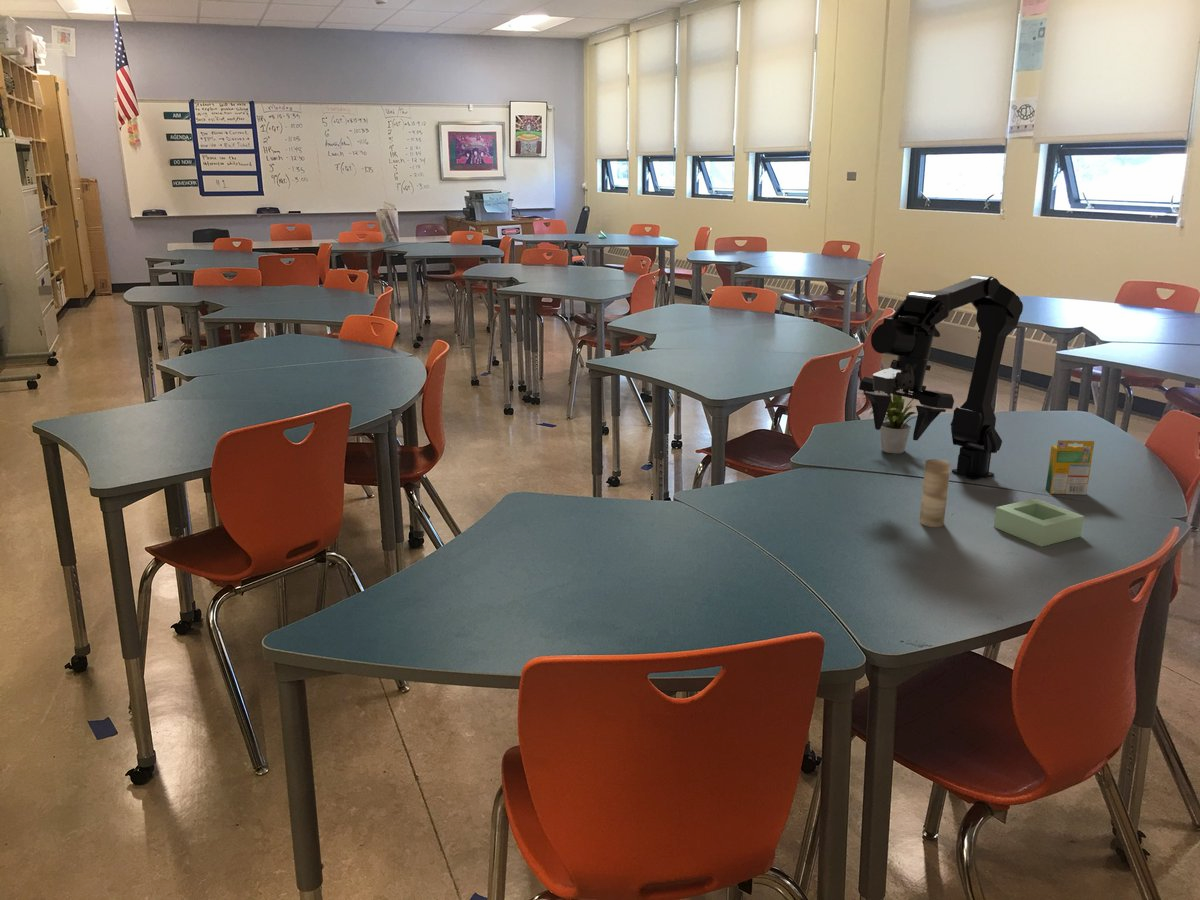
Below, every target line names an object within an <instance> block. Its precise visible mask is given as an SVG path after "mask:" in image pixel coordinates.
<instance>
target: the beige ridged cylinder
mask: <svg viewBox="0 0 1200 900" xmlns="http://www.w3.org/2000/svg"><path fill="white" fill-rule="evenodd" d="M951 467H952V465H951V463H950V461H947V460H944V459H939V458H937V459H936V458H935V459H934V458H933V459H926V461H925V466H924V472H923V473H924V474H923V483H922V493H921V503H920V504H921V505H920V511H919V520H918V521H919V524H921V525H922V526H926V527H929V528H930V527H931V528H940V527H944V525H945V518H946V516H945V515H946V508H947V499H948V490H949V489H948V488H949V482H950V472H951Z"/></svg>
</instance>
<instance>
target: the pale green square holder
mask: <svg viewBox="0 0 1200 900" xmlns="http://www.w3.org/2000/svg"><path fill="white" fill-rule="evenodd" d="M1084 520H1085V515H1082V514H1080V513H1077V512H1074V511H1072V510H1068V509H1066V508H1063V507H1060V506H1058V505H1054V504H1051V503H1049V502H1048V501H1047V502H1046V501H1043V500H1041V499H1038V498H1030V499H1027V500H1022V501H1018V502H1014V503H1013V502H1012V503H1009V504H1004V505H1000V506H996V508H995V516H994V523H993V528H995V529H998V530H1000V531H1003V532H1005V533H1007V534H1009V535H1011V536H1015V537H1017V538H1019V539H1022V540H1023V541H1027V542H1028V543H1030V544H1034V545H1035V546H1038V547H1045V546H1049V545H1052V544H1057V543H1061V542H1065V541H1068V540H1071V539H1077V538H1080V537H1081V536H1082V531H1083V526H1084V525H1083V524H1084Z"/></svg>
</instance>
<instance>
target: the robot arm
mask: <svg viewBox="0 0 1200 900" xmlns="http://www.w3.org/2000/svg"><path fill="white" fill-rule="evenodd" d="M968 304H971V305H972V306H973V307H974V308H975V310H976V316H975V321H976V323H977V324H976V325H977V327H978V329H979V332H980V337H979V340H978V341H979V343H978V346H977V351H976V356H975V361H974V365H973V370H972V374H971V379H970V383H969V388H968V392H967V397H966V400H965V402H963V404H962V405H960V407H957V406H956V407H955V409H954V410H953V407H954V404H955V399H954V396H953V394H951V393H947V392H943V391H939V390H931V389H929V390H928V389H927V385H924V381H925V375H926V371H928V372H929V371H931V368H932V365H930V364H928V363H929V362H928V361H929V358H930V354H931V350H932V344H933V340H934V337H935V338H940V337H941V334H940V332H939V330H938V328H937V327H936V325H938V324H940V323H941V322H942V321H944V320H946V319H947V318H948V317H949V316H950V315H949V314H950V312H952V311H954V310H955V309H956V310H957V309H958V308H961V307H963V306H966V305H968ZM1023 310H1024V305H1023V302H1022V300H1021V298H1020V297H1019V296H1018V295H1017V294H1016V293H1015V292H1014V291H1012V290H1011V289H1010V288H1008V287H1007V286H1005V285H1003V284H1001V283H1000V281H999V279H997V278H996V277H994V276H990V275H981V274H980V275H979V274H976V275H972V276H970V277H969V278H967V279H965V280H962V281H959V282H958V283H957V282H956V283H954V284H951V285H949V286H946V287H944V288H941V289H938V290H917V291H912V292H909V293H908V294H907V295H906V296H905V299H904V300H903V302H902V303H901V304H900V305H899V306H898V308H897V309H896V311H895V312H894V313H893V315H892V316H891V317H884V319H883V323H880V324H879V325H877V326H876V327H875V329H874V330H873V332H872V333H871V335H870V344H871V348H872V349H873V351H875V352H876V353H878V354H883V355H891V356H897V359H892V361H891V363H890V366H889V367H888V368H884V369H882V370H879V371H877V372H874V373H873V374H872V377H871V376H864V377H862V378H861V380H860V381H859V386H858V390H860V391H864V392H862V393H863V396H865V397H867V399H868V400H869V401H870V405H871V407H872V408H871V409H872V411H873V413H872V417H873V423H874V429H875V430H877V431H880V428H881V426H882V424H883V422H885V416H886V415H887V409H888V406H889V404H890V401H891V398H892V399H893V394H895V395H899V396H902V397H903V398H908V399H911V400H912V399H913V400H917V401H918V402H919V404H920V405H915V409H916V413H917V417H916V419H915V420H916V421H915V425H914V429H913V433H912V435H913V436H912V440H913V441H919V439H920V438H921V437H922V436H923V434H924V433H925V431H926V430H927V429H928V428H929V426H930V425H931V424H932V422H933V421H934V420H935V419H936V418H937V417H939V415H940V414H941V413H945V412H946V411H947V409H948V410H953V415H952V416H953V417H952V419H951V423H949V424H950V431H951V440H952V445H953V446H954V445H955V446H959V453H958V455H957V456H958V457H957V463H956V468H953V469H951V473H954V474H955V475H959V476H962V477H965V478H966V479H969V480H972V481H973V480H974V481H976V480H980V479H985V478H986V479H987V478H990V477H994V476H995V472H991V471H990V464H991V459H992V458H991V457H992V454H997V453H998V451H1000V450H1001V447H1002V445H1003V440H1002V438H1001V436H1000V435H999V434H998V432H997V430H996V422H997V417H996V415H995V414H996V413H995V412H994V408H993V406H992V401H993V397H994V393H995V388H996V384H997V379H998V375H999V370H1000V366H1001V362H1002V356H1003V353H1004V348H1005V343H1006V338H1007V337H1008V336H1009V335H1010V333H1012V332H1013V330H1015V328H1017V326H1018V324H1019V321H1020V317H1021V314H1022V313H1023ZM901 389H902V391H901ZM899 390H900V391H899ZM887 394H891V396H888V395H887Z"/></svg>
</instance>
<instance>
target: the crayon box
mask: <svg viewBox="0 0 1200 900" xmlns="http://www.w3.org/2000/svg"><path fill="white" fill-rule="evenodd" d="M1071 444H1078V445H1071ZM1094 446H1095V440H1057V445H1051V447H1050V455H1049V463H1048V469H1047V477H1046V484H1045V491H1047V493H1049V494H1050V495H1083V496H1086V495H1087V493H1088V487H1089V480H1090V474H1091V467H1092V458H1093V452H1094Z"/></svg>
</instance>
